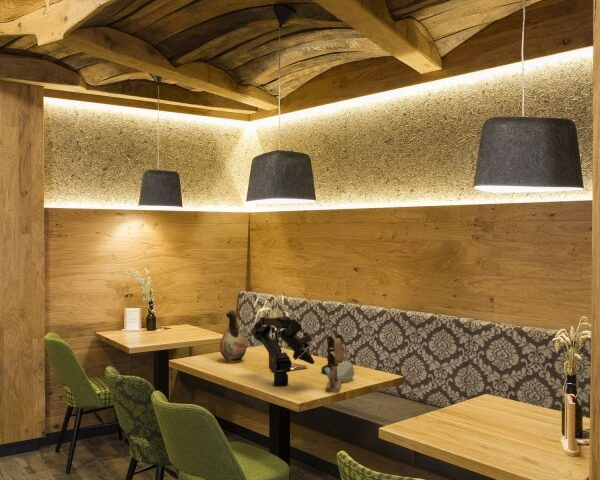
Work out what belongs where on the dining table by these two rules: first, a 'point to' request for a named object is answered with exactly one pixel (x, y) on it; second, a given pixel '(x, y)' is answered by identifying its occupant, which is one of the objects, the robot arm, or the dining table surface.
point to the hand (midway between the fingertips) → (313, 363)
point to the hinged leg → (327, 372)
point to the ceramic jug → (232, 341)
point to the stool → (333, 381)
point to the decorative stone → (345, 371)
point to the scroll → (338, 349)
